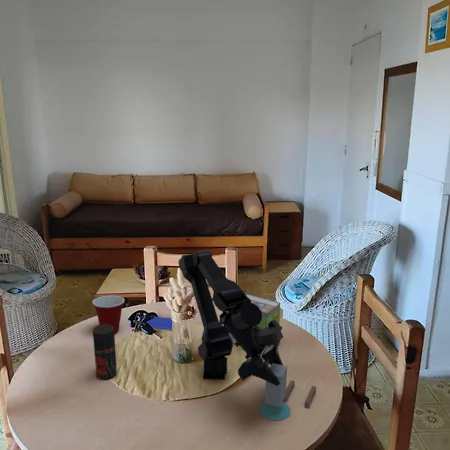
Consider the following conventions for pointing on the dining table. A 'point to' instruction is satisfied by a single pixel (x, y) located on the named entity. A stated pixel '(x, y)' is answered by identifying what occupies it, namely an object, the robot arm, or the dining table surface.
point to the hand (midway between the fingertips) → (281, 379)
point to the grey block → (274, 392)
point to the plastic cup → (109, 310)
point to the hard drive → (161, 323)
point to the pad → (275, 411)
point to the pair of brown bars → (309, 397)
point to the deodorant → (104, 352)
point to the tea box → (265, 311)
